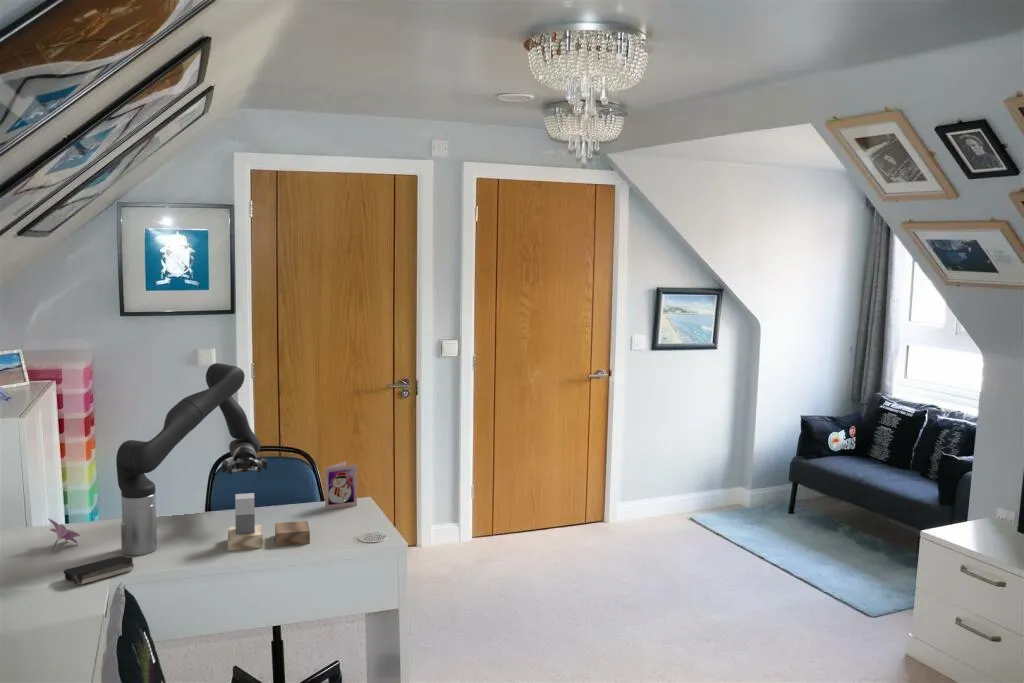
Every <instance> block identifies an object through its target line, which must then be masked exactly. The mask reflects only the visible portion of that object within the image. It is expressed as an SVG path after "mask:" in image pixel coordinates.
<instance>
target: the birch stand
mask: <svg viewBox="0 0 1024 683" xmlns="http://www.w3.org/2000/svg"><path fill="white" fill-rule="evenodd" d="M227 531H228V532H227V551H237V550H238V551H239V550H247V549H249V550H250V549H259V548H264V546H263V545H264V544H263V542H264V540H263V538H264V536H263V534H264V533H263V524H255V533H249V534H237V535H236V526H229V527H228V529H227Z"/></svg>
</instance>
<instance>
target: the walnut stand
mask: <svg viewBox="0 0 1024 683" xmlns="http://www.w3.org/2000/svg"><path fill="white" fill-rule="evenodd" d="M274 534H275V535H274V537H275V546H276V547H283V546H295V545H306V544H310V543H311V539H310V538H311V536H310V535H311V530H310V526H309V523H308V520H301V521H290V522H289V521H288V522H287V521H285V522H275V523H274Z"/></svg>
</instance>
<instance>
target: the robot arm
mask: <svg viewBox="0 0 1024 683" xmlns="http://www.w3.org/2000/svg"><path fill="white" fill-rule="evenodd" d="M205 382H206V385H207V387H208V388H207V389H204V390H201V391H199V392H195V393H193V394H191V395H187V396H186V397H185V396H184V398H183V399H181V400H179V401H178V402H177V403H176V404H175V405H174V406H173V407H172V408H170V410H169V411H168V412H167V414H166V415H165V419H164V423H163V428H162V430H160V431H159V433H158V434H157V435H156V436H154V437H153V438H151V439H150V440H148V441H144V440H134V439H130V440H126V441H123V442H122V443H121V445H119V447H118V449H117V452H116V459H115V460H116V461H115V462H116V463H115V464H116V474H117V475H116V476H117V477H116V478H117V485H118V488H119V490H120V492H121V493H120V495H121V496H120V497H121V523H120V541H121V542H120V543H121V556H124V555H126V556H127V555H128V556H142V555H143V556H144V555H147V554H150V553H152V552H155V551H156V550H157V548H158V542H157V541H158V540H157V505H156V504H157V503H156V501H157V497H156V484H155V483H154V482H153V481H152V480H151V479H149V478H148V477H147V475H146V474H148V473H151V472H153V471H155V470H156V469H157V468H158V467H159V466H160V465H161V464H162V462H163V461H164V460H165V459H166V458H167V456H168V455H169V454H170V453H171V452H172V451H173V449H175V447H176V446H177V445H178V444H179V443H180V442H181V441H182V440H183V439H185V437H187V435H188V434H189V433H190V432H191V431H193V430H194V429H195V428H196V427H197V426H198V425H199V424H201V422H203V420H205V419H206V417H207V416H208V415H210V413H211V414H212V412H213V411H214V410H215V409H216V408H218V407H219V409H220V411H221V413H222V415H223V417H224V420H225V422H226V426H227V429H228V433H229V434H230V435H229V436H230V437H231V438H233V439H232V441H231V442H230V443H229V444H228V446H229V447H228V449H229V452H230V456H232V461H231V462H230V461H228V460H226V459H224V460H222V463H221V473H226V472H227V474H229V475H230V476H231V475H233V473H234V472H235V473H236V472H240V473H249V472H251V471H257V474H259V473H260V472H262V471H263V470H268V459H267V457H262V458H261V460H258V459H257V455H258V453H259V452H260V450H261V447H262V446H261V442H260V440H259V438H258V437H257V436H256V434H255V433H254V432H253V431H252V429H251V427H250V424H249V421H248V417H247V413H246V411H245V410H244V408H242V406H241V404H239V403H238V402H237V401H236V400H235V398H234V397H233V395H235V394H236V393H238V391H239V390H240V389H241V387H242V386H243V384H244V382H245V372H244V370H243V369H242V368H241V367H238V366H235V365H230V364H225V363H219V362H216V363H213V364H211V365H209V366H208V368H207V370H206V373H205Z"/></svg>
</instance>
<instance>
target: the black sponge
mask: <svg viewBox="0 0 1024 683" xmlns="http://www.w3.org/2000/svg"><path fill="white" fill-rule="evenodd" d="M134 568H135V565H134V560H133V557H130V556H129V557H128V556H124V555H119V556H114V557H110V558H105V559H101V560H97V561H95V562H91V563H90V562H89V563H87V564H82V565H78V566H74V567H70V568H66V569H64V570H63V574H64V579H66V580H67V581H70V582H73V583H74V584H77V585H84V584H88V583H92V582H95V581H98V580H102V579H106V578H110V577H112V576H116V575H119V574H120V575H121V574H122V573H127V572H131V571H132V570H133V569H134Z"/></svg>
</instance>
